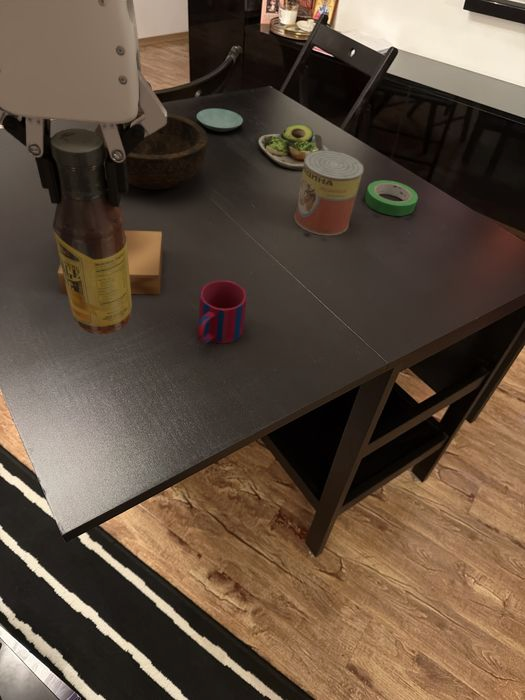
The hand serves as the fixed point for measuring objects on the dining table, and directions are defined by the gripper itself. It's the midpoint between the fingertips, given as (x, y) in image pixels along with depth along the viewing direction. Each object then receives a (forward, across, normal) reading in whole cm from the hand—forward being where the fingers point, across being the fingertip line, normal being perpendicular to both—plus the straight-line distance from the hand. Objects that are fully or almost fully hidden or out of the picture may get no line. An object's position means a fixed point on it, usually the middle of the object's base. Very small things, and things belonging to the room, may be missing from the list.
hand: (88, 195), depth 42 cm
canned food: (+29, -35, -45) cm, 64 cm away
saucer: (+29, -15, -88) cm, 94 cm away
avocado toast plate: (+29, -34, -75) cm, 87 cm away
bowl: (+29, -1, -58) cm, 65 cm away
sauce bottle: (+15, 0, 0) cm, 15 cm away
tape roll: (+29, -52, -54) cm, 80 cm away
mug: (+29, -12, -12) cm, 34 cm away
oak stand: (+29, +4, -27) cm, 40 cm away
